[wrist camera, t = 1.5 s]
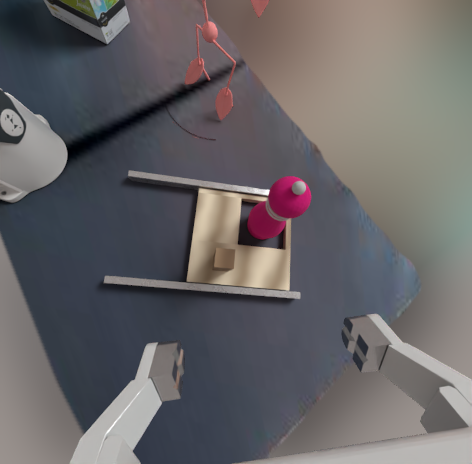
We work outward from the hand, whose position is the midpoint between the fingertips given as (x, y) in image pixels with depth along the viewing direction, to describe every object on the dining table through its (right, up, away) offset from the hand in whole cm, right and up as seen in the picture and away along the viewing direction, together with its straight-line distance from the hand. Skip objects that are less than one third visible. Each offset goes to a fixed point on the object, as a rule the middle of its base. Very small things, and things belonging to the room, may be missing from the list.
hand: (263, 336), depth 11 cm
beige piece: (0, +3, +34) cm, 34 cm away
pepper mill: (+4, +6, +36) cm, 37 cm away
